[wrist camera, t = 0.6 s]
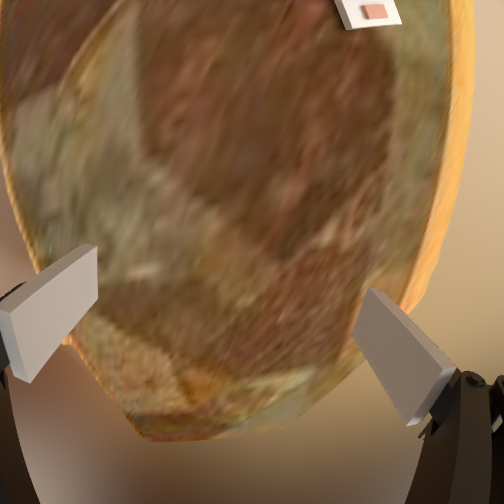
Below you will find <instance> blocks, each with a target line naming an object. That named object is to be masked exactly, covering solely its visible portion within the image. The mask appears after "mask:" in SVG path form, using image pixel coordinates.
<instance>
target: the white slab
mask: <svg viewBox="0 0 504 504" xmlns="http://www.w3.org/2000/svg"><path fill="white" fill-rule="evenodd" d="M334 2H335V4H336V6H337V9H338V11H339V14H340V16H341V19H342V21H343V24H344V26H345V29H346V30H353V29H360V28H369V27H379V26H392V25H399V24H402V22H401V20H400V17H399V14H398V11H397V9H396V6H395V3H394V1H393V0H334Z"/></svg>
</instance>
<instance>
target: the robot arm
mask: <svg viewBox="0 0 504 504" xmlns="http://www.w3.org/2000/svg"><path fill="white" fill-rule="evenodd" d="M97 299H98V285H97V246H95V245H89V244H82V245H81V246H79V247H77V248H76V249H74V250H73V251H71V252H70V253H68V254H67V255H65V256H64V257H62V258H61V259H59V260H58V261H56V262H55V263H53V264H52V265H50V266H49V267H47V268H46V269H44V270H43V271H41V272H40V273H39V274H37V275H36V276H34V277H33V278H32V279H30V280H29V281H27V282H24V283H21V284H19V285H17V286H16V287H14V288H13V289H12V290H11V291H10V292H8V293H6V294H5V296H2V297H1V298H0V504H40V502H39V499H38V497H37V494H36V492H35V489H34V486H33V484H32V481H31V478H30V475H29V472H28V470H27V467H26V463H25V460H24V457H23V453H22V450H21V446H20V442H19V438H18V434H17V430H16V426H15V421H14V416H13V411H12V406H11V400H10V393H9V387H8V379H7V375H6V373H5V368H6V367H7V366H8V364H9V363H10V366H11V368H12V371H13V374H14V376H15V377H17V378H20V379H21V380H24V381H26V382H28V383H31V382H32V380H33V379H34V378H35V376H36V375H37V374H38V372H39V371H40V370H41V368H42V367H43V365H44V364H45V363H46V361H47V360H48V359H49V358H50V356H51V355H52V354H53V352H54V351H55V350H56V348H57V347H58V346H59V345H60V344H61V342H62V341H63V340H64V339H65V337H66V336H67V335H68V334H69V332H70V331H71V330H72V329H73V327H74V326H75V325H76V324H77V323H78V321H79V320H80V319H81V318H82V317H83V316H84V314H85V313H86V312H87V311H88V310H89V308H90V307H91V306H92V305H93V304H94V303H95V302H96V300H97ZM351 335H352V337H353V338H354V340H355V341H356V343H357V345H358V346H359V348H360V349H361V351H362V353H363V354H364V356H365V357H366V359H367V361H368V362H369V364H370V366H371V367H372V369H373V371H374V372H375V374H376V376H377V377H378V379H379V381H380V382H381V384H382V386H383V387H384V389H385V391H386V392H387V394H388V396H389V397H390V399H391V401H392V402H393V404H394V406H395V408H396V409H397V411H398V413H399V415H400V416H401V418H402V420H403V422H404V423H405V425H406V426H410V425H414V424H419V423H421V422H422V421H423V419H424V418H425V416H426V415H427V414H428V412H429V413H430V414H431V416H432V419H431V420H430V422H429V423H428V424H427V426H426V427H425V428H424V430H423V431H422V432H421V433H420V435H419V436H418V438H421V436H422V435H424V434H426V435H425V438H424V439H423V440H424V443H423V447H422V451H421V455H420V458H419V462H418V465H417V469H416V472H415V475H414V478H413V481H412V485H411V487H410V491H409V493H408V496H407V499H406V501H405V504H504V375H500V376H498V377H497V379H496V381H495V382H494V384H493V385H487V384H486V382H485V380H484V379H483V378H482V377H481V376H479V375H478V374H476V373H474V372H471V371H464V372H460V370H459V369H458V368H457V367H456V366H455V365H454V364H453V363H452V361H451V360H450V359H449V358H448V357H447V356H446V355H445V354H444V353H443V352H442V351H441V350H440V349H439V347H438V346H437V345H436V344H435V343H434V342H433V341H432V340H431V339H430V338H429V337H428V336H427V335H426V334H425V333H424V332H423V331H422V330H421V329H420V328H419V327H418V326H417V325H416V324H415V323H414V322H413V321H412V320H411V319H410V318H409V317H408V316H407V315H406V314H405V313H404V312H403V311H402V310H401V309H400V308H399V307H398V306H397V305H396V304H395V303H394V302H393V301H392V300H391V299H390V298H389V297H388V296H387V295H386V294H385V293H384V292H383V291H382V290H381V289H374V288H368V290H367V293H366V296H365V299H364V302H363V305H362V307H361V310H360V313H359V316H358V319H357V321H356V324H355V327H354V329H353V332H352V334H351ZM501 417H502V420H503V422H502V424H501V425H500V426H499V428H498V429H497V430H496V431H495V432H493V429H492V428H493V427H494V425H495V424H496V423H497V421H498V420H499V419H500V418H501Z"/></svg>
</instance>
